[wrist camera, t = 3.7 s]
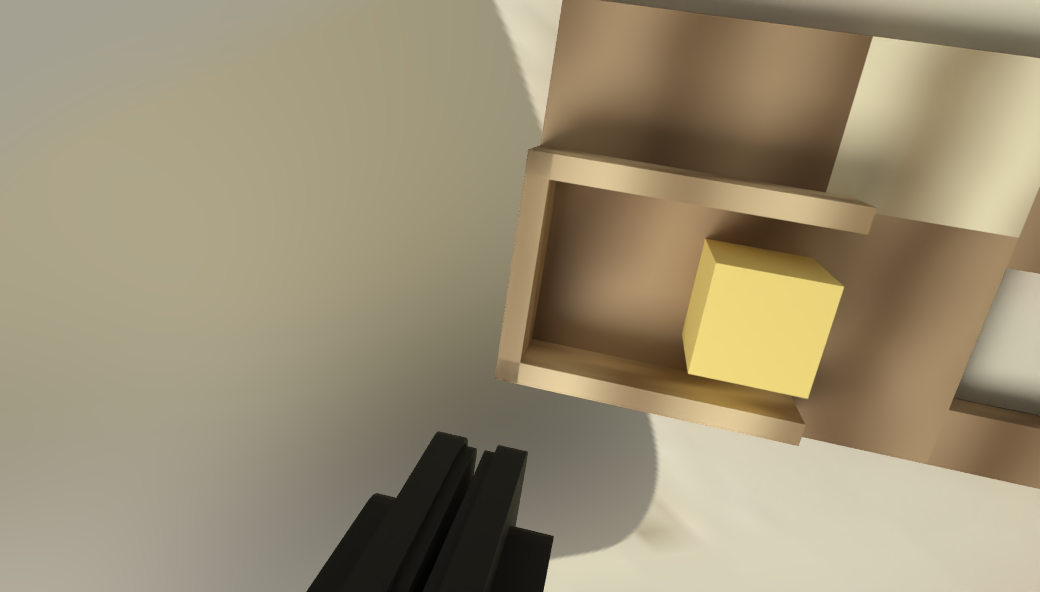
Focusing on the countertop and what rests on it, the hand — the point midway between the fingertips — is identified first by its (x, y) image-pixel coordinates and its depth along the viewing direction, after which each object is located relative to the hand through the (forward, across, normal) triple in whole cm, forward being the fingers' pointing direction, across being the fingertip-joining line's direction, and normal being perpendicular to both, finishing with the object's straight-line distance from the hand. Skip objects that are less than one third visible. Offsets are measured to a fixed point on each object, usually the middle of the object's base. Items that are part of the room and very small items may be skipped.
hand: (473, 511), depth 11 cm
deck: (+20, -12, -2) cm, 23 cm away
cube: (+18, -8, 0) cm, 20 cm away
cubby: (+18, -4, 0) cm, 19 cm away
